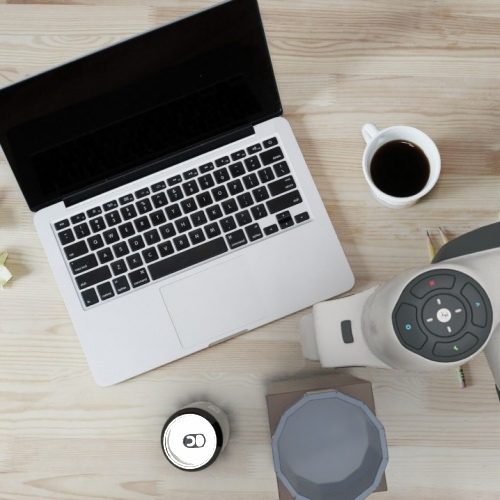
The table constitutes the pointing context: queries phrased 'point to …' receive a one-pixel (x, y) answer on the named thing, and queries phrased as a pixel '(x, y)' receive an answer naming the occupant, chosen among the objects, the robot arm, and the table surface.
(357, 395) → the plinth
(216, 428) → the beverage can
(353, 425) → the bowl
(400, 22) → the table surface
